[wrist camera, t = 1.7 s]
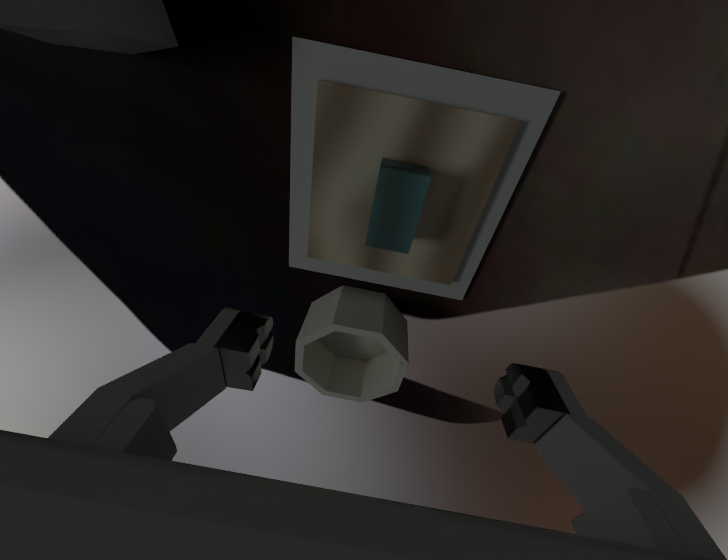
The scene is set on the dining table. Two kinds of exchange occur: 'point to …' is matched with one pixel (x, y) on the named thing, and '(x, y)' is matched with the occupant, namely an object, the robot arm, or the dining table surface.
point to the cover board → (407, 140)
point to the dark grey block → (92, 23)
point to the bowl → (353, 345)
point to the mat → (422, 85)
